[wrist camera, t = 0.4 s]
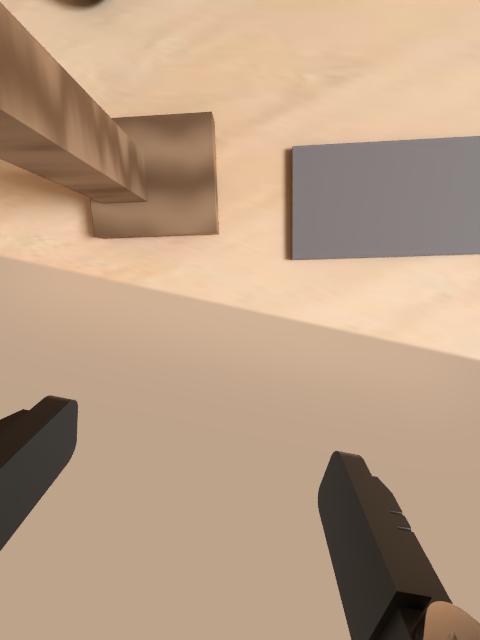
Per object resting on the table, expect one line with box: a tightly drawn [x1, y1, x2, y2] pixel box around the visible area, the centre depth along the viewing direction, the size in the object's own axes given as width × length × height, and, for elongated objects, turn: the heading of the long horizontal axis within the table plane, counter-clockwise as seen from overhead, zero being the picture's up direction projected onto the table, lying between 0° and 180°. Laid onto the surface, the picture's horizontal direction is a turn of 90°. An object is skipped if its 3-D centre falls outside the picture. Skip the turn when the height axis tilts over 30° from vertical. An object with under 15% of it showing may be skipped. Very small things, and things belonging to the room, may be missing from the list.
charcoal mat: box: [292, 136, 480, 260], centre depth 31 cm, size 12×26×1 cm, turn 92°
